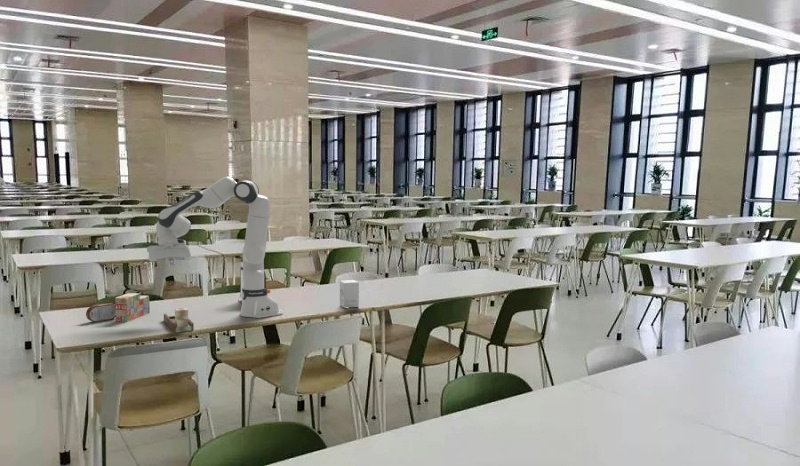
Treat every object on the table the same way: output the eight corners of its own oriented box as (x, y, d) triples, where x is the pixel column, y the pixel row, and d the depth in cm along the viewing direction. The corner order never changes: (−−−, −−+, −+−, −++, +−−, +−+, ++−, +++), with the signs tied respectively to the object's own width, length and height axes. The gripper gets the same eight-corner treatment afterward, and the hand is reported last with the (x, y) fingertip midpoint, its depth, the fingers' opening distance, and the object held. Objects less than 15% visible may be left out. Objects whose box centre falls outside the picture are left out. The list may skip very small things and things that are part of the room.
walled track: (182, 319, 308) (182, 312, 307) (193, 330, 286) (193, 323, 286) (163, 320, 303) (163, 313, 303) (173, 332, 281) (173, 325, 281)
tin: (116, 317, 308) (116, 301, 307) (119, 318, 306) (118, 302, 305) (85, 322, 296) (85, 305, 295) (88, 323, 294) (88, 306, 293)
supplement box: (354, 304, 352) (354, 279, 351) (358, 307, 344) (359, 282, 343) (339, 305, 349) (339, 280, 348) (343, 308, 341) (344, 282, 339)
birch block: (186, 324, 290) (185, 307, 289) (188, 326, 285) (188, 309, 285) (175, 325, 287) (175, 308, 286) (177, 327, 283) (177, 310, 282)
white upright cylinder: (235, 304, 346) (235, 252, 343) (241, 298, 362) (241, 249, 359) (265, 304, 346) (265, 253, 344) (270, 299, 362) (270, 249, 359)
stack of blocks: (138, 312, 321) (138, 289, 320) (149, 312, 320) (149, 290, 319) (115, 321, 300) (114, 297, 299) (127, 322, 299) (126, 297, 298)
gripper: (147, 241, 304) (150, 263, 297) (188, 240, 315) (193, 261, 308) (145, 249, 309) (149, 271, 301) (187, 248, 319) (191, 268, 312)
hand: (171, 266), depth 304 cm, fingers closed
